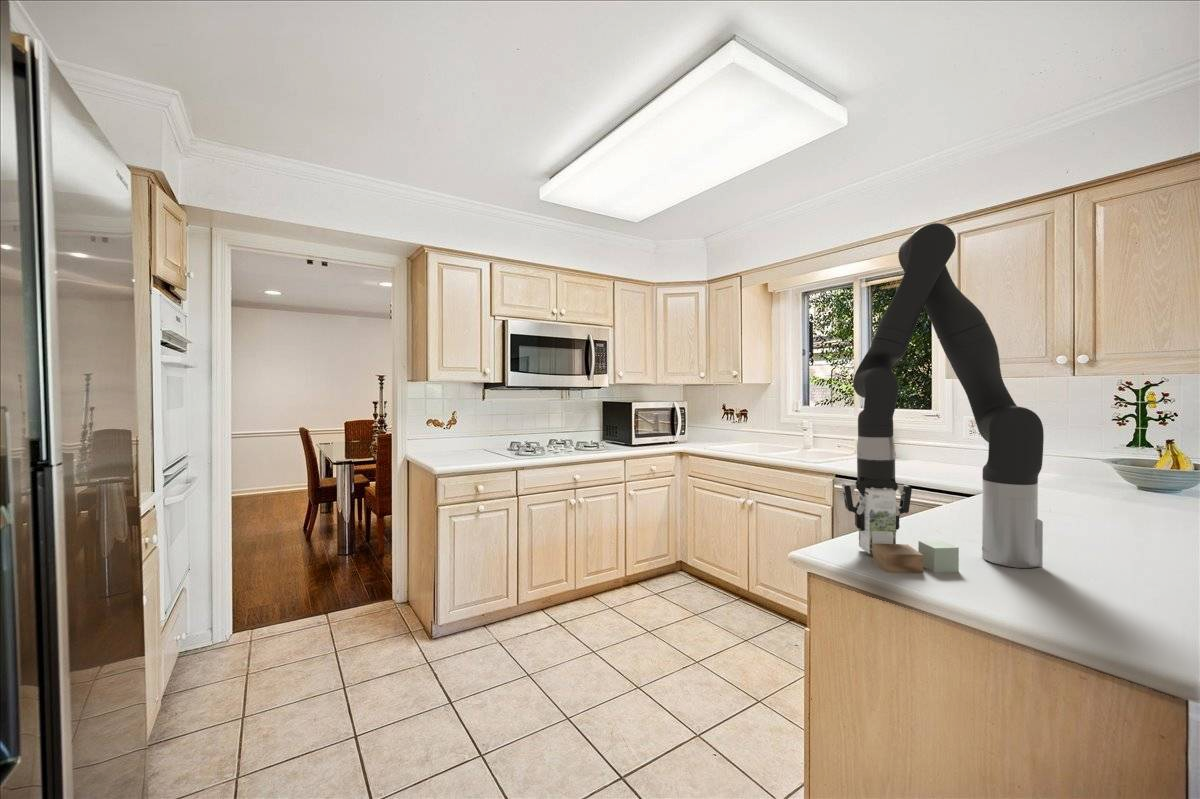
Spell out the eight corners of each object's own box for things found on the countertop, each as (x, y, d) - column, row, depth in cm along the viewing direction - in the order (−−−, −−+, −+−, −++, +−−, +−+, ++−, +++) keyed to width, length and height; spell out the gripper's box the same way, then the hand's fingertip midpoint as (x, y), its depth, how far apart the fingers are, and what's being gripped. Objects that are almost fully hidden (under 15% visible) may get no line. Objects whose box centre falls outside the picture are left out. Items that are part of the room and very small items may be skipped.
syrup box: (884, 547, 118) (883, 484, 118) (896, 555, 112) (896, 489, 112) (858, 547, 119) (857, 484, 118) (869, 555, 113) (868, 489, 112)
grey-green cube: (941, 563, 109) (941, 540, 109) (958, 572, 104) (958, 547, 104) (918, 564, 109) (918, 540, 109) (934, 572, 104) (934, 548, 104)
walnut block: (907, 562, 110) (907, 544, 110) (923, 574, 103) (923, 554, 103) (872, 561, 111) (872, 543, 111) (886, 573, 104) (885, 553, 104)
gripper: (905, 454, 117) (906, 527, 117) (837, 454, 120) (838, 525, 121) (917, 458, 110) (918, 536, 110) (845, 458, 113) (846, 534, 113)
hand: (876, 530), depth 115 cm, fingers closed on syrup box, 6 cm apart
